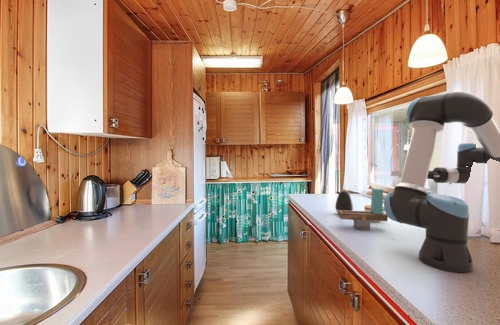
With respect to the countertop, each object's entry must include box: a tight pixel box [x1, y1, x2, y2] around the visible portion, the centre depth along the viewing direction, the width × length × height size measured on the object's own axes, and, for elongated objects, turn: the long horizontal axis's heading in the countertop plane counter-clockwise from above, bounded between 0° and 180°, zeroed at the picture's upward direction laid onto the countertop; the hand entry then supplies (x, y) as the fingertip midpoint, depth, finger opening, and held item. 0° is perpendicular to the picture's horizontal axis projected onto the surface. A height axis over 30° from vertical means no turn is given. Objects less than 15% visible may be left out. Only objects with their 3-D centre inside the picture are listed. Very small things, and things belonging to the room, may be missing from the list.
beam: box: [337, 210, 389, 231], centre depth 133 cm, size 7×22×8 cm, turn 84°
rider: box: [370, 187, 384, 214], centre depth 132 cm, size 6×4×15 cm, turn 174°
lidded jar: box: [364, 204, 386, 223], centre depth 149 cm, size 11×11×9 cm
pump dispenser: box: [334, 189, 354, 214], centre depth 162 cm, size 10×10×15 cm
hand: (394, 173), depth 131 cm, fingers open, 7 cm apart
